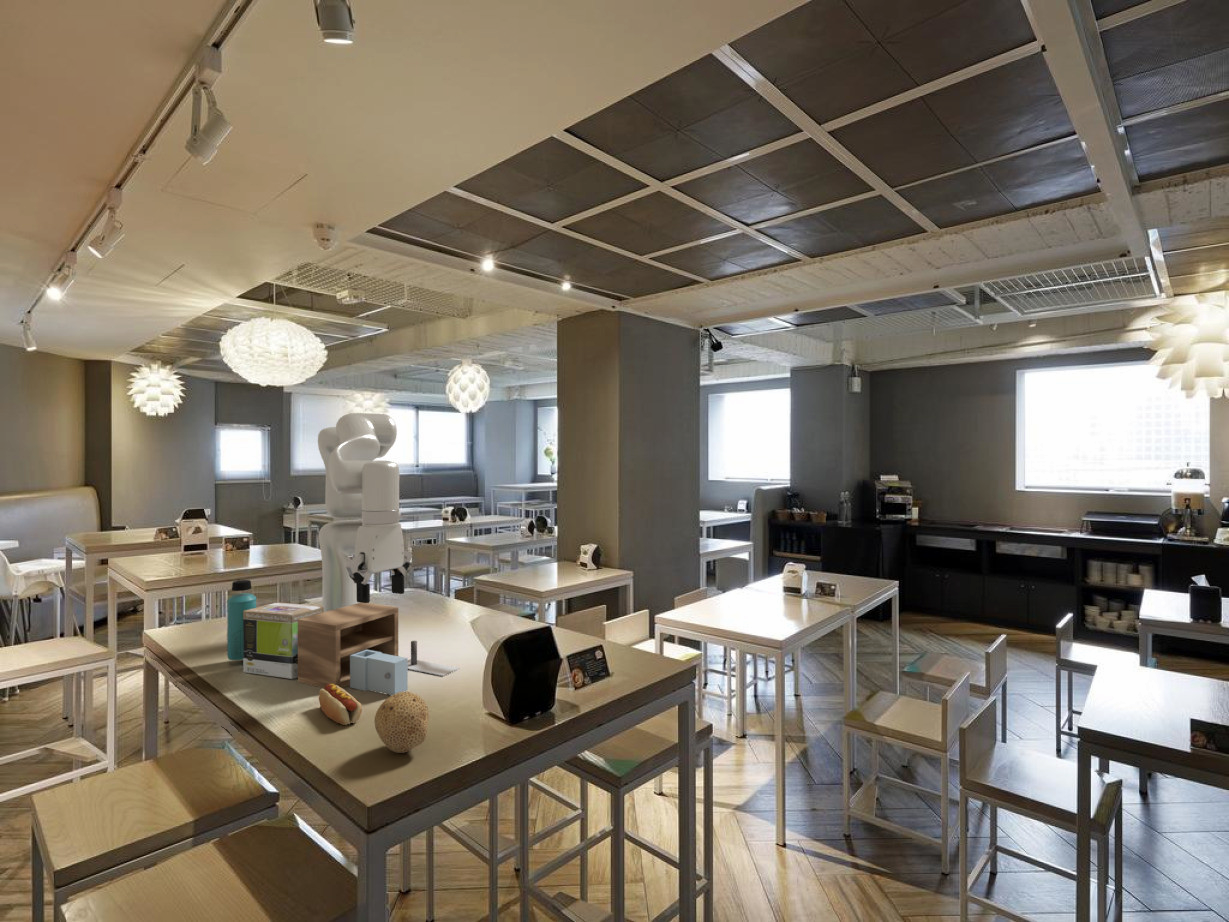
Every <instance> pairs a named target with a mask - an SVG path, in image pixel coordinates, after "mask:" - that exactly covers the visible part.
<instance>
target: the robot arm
mask: <svg viewBox="0 0 1229 922" xmlns="http://www.w3.org/2000/svg"><path fill="white" fill-rule="evenodd" d="M397 432H398V430H397V425H396V422H395V421H394V419H393V418H392V417H391V416H390V415H388V414H384V413H369V412H367V413H364V412H363V413H361V412H352V413H346V414H344V415H342V416H341V417H339V419H338V420H337V422H336V424H335V426H331V427H326V428H325V427H324V428H322V429H321V430H320V431H319V433H318V435H317V447H318V451H319V455H320V456H321V459H322V461H323V465H324V468H325V496H324V497H325V501H324V502H325V511H326V514H327V515H328V516H329V517H332V518H334V519H335V518H336V519H337V518H338V519H339V518H340V519H341V518H342V519H345V518H346V519H347V518H361V520H345V521H344V520H343V521H333V522H329V523H326V524H324V525H323V526H322V527H321V528H320V529H319V533H318V542H319V543H318V544H319V548H320V554H321V565H322V567H321V568H322V571H321V572H322V573H321V574H322V577H321V578H322V586H321V587H322V591H321V593H322V595H321V596H322V606H324V612H327V611H331V610H335V609H339V608H342V607H346V606H350V605H354V604H357V603H371V594H370V593H371V592H370V591H371V589H370V588H371V586H370V583H368V582H369V581H370V578H371V577H372V575H373V574H378V573H379V574H380V573H383V572H389V571H391V572H392V575H391V593H392V594H398V595H403V594H405V576H406V575H407V574H408V573H407V571H408V569H409V567H410V565H411V560H412V557H413V553H412V552H409V551H408V550H406V549H405V548H404V543H405V542H404V537H403V535H404V534H403V530H402V525H401V523H400V517H401V515H402V513H401V511H400V467H399V465H398V463H396V462H394V461H392V460H391V461H390V460H376V459H380V458H383V457H384V456H386V455H387V453H388V452H389V451H390V450H391V448H392V447H393V446H394V444H395V442H396V439H397V434H398V433H397ZM351 555H354V558H353V559H351V558H350V556H351Z"/></svg>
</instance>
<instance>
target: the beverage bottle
mask: <svg viewBox="0 0 1229 922" xmlns="http://www.w3.org/2000/svg"><path fill="white" fill-rule="evenodd" d="M251 589H252V582H251V580H249V579H239V580H234V581H232V584H231V591H232V592H242V591H249V590H251ZM226 603H227V605H226V607H227V609H226V611H227V614H226V616H227V617H226V618H227V621H226V622H227V624H226V625H227V628H226V631H227V632H226V656H227V658H228V660H230V661H243V611H245V610H249V609H253V608H257V596H255V595H254V594H253V593H251V592H243V593H235V594H232V595H231V596H230V597H228V599H227V600H226Z"/></svg>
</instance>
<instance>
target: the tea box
mask: <svg viewBox="0 0 1229 922" xmlns="http://www.w3.org/2000/svg"><path fill="white" fill-rule="evenodd" d="M323 612H324V606H323V605H314V604H313V605H312V604H303V603H301V604H300V603H291V602H290V603H289V602H274V603H270V604H265V605H261V606H258V607H257V606H256V608H253V609H249V610H245V611H243V660H242V662H243V664H242V665H243V673H247V674H254V675H261V676H268V677H276V678H284V679H288V680H289V679H290V680H294V679H296V678H297V679H298V619H301V618H304V617H308V616H312V615H316V614H320V613H323Z"/></svg>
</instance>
